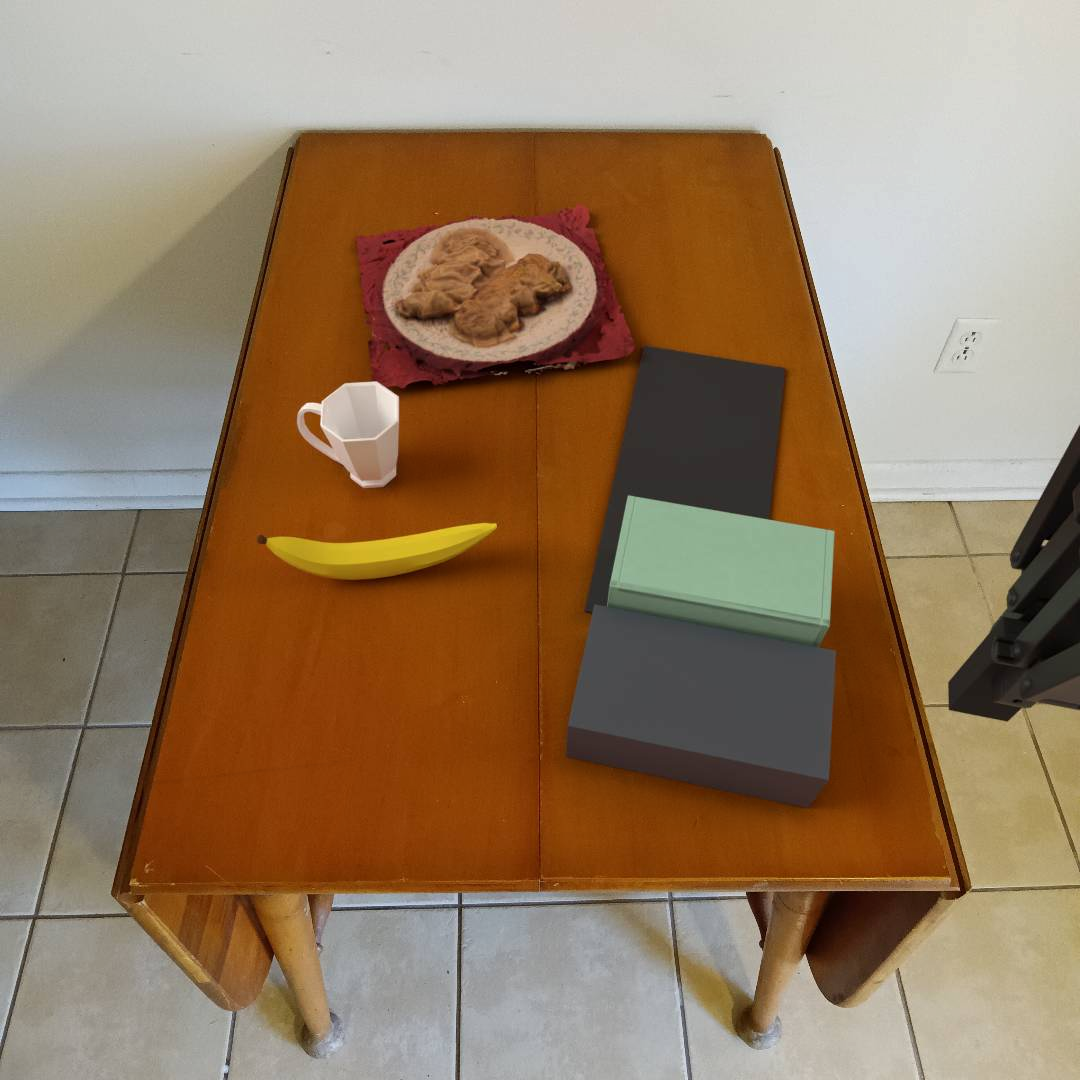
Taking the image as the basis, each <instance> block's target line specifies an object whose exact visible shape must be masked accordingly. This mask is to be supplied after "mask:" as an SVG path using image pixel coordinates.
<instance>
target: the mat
mask: <svg viewBox="0 0 1080 1080" xmlns="http://www.w3.org/2000/svg"><path fill="white" fill-rule="evenodd" d="M785 375H786V367H784V366H783V367H782V366H775V365H770V364H763V363H756V362H750V361H746V360H745V361H744V360H738V359H732V358H726V357H719V356H712V355H707V354H706V355H705V354H700V353H694V352H688V351H683V350H682V351H681V350H675V349H670V348H669V349H668V348H664V347H663V348H662V347H657V346H649V345H643V347H642V352H641V357H640V361H639V366H638V370H637V375H636V379H635V384H634V389H633V392H632V398H631V402H630V407H629V411H628V414H627V420H626V423H625V427H624V432H623V433H624V434H623V437H622V438H623V439H622V442H621V447H620V450H619V455H618V460H617V465H616V468H615V473H614V477H613V483H612V487H611V490H610V495H609V500H608V504H607V509H606V513H605V519H604V522H603V526H602V531H601V536H600V539H599V544H598V549H597V554H596V556H595V557H596V558H595V562H594V566H593V572H592V576H591V580H590V585H589V589H588V594H587V597H586V602H585V607H584V613H587V614H592V613H593V608H594V605H595V604H596V605H601V606H606V607H607V603H608V595H609V587H610V582H611V577H612V572H613V567H614V562H615V557H616V552H617V547H618V542H619V537H620V532H621V527H622V522H623V518H624V513H625V508H626V503H627V498H628V495H629V496H635V497H640V498H646V499H652V500H658V501H663V502H669V503H675V504H681V505H687V506H692V507H698V508H704V509H710V510H716V511H721V512H727V513H733V514H739V515H744V516H750V517H756V518H762V519H768V520H770V514H771V506H772V496H773V487H774V479H775V469H776V468H775V467H776V460H777V450H778V440H779V431H780V422H781V413H782V403H783V394H784V385H785V384H784V383H785Z"/></svg>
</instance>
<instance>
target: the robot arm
mask: <svg viewBox="0 0 1080 1080" xmlns="http://www.w3.org/2000/svg"><path fill="white" fill-rule="evenodd" d="M1045 541H1047V542H1046V544H1045V545H1043V544H1044V542H1045ZM1009 562H1010V567H1011V569H1013V570H1019V571H1021V573H1020V575H1019V576H1018V578H1017V579H1016V581H1014V583H1013V584H1012V585H1011V587H1010V588H1009V589H1008V591H1007V594H1006V609H1005V610H1004V611H1003V612H1002V614H1001V615H1000V616H999V617H998V619H997V620H996V621H995V622H994V623H993V624H992V626H991V628H990V630H989V633H987V635H986V636H985V637H984V638H983V640H982V641H981V642H980V643H979V644H978V646H977V647H976V648H975V649H974V651H973V652H972V653H971V655H970V656H968V658H967V659H966V660H965V662H964V663H963V664H962V665H961V666H960V667H959V669H957V671H956V672H955V673H954V674H953V676H952V677H951V678H949V680H948V682H947V686H948V687H947V690H948V692H947V694H948V701H947V702H948V711H950V712H956V713H961V714H966V715H971V716H977V717H982V718H985V719H991V720H997V721H1002V722H1005V723H1006V722H1009V721H1010V720H1011V719H1012V718H1013V717H1014V716H1015V715H1017V714H1018V713H1019V711H1021V710H1022V709H1031V708H1033V706H1035V705H1036V704H1037V703H1039V704H1045V705H1048V706H1054V707H1058V708H1059V707H1060V708H1065V709H1070V710H1074V711H1075V710H1076V711H1080V424H1079V425H1078V427H1077V428H1076V431H1075V432H1074V434H1073V436H1072V438H1071V440H1070V442H1069V443H1068V445H1067V447H1066V448H1065V451H1064V453H1063V455H1062V457H1061V458H1060V460H1059V462H1058V464H1057V466H1056V468H1055V469H1054V471H1053V473H1052V475H1051V477H1050V479H1049V481H1048V482H1047V484H1046V485H1045V488H1044V490H1043V492H1042V493H1041V495H1040V497H1039V499H1038V501H1037V503H1036V505H1035V506H1034V508H1033V510H1032V511H1031V513H1030V516H1029V518H1028V519H1027V521H1026V523H1025V525H1024V527H1023V528H1022V530H1021V533H1020V534H1019V536H1018V538H1017V539H1016V541H1015V543H1014V545H1013V547H1012V549H1011V551H1010V554H1009Z"/></svg>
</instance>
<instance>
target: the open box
mask: <svg viewBox="0 0 1080 1080" xmlns="http://www.w3.org/2000/svg"><path fill="white" fill-rule="evenodd" d="M835 534H836V533H835V530H831V529H826V528H825V529H824V528H819V527H813V526H807V525H802V524H796V523H791V522H785V521H778V520H774V519H773V520H772V519H769V520H768V519H762V518H756V517H750V516H744V515H739V514H733V513H727V512H721V511H716V510H710V509H704V508H698V507H692V506H687V505H681V504H675V503H669V502H663V501H658V500H652V499H646V498H640V497H635V496H629V495H628V498H627V503H626V508H625V513H624V518H623V522H622V527H621V532H620V537H619V542H618V547H617V552H616V557H615V562H614V567H613V572H612V577H611V582H610V587H609V595H608V603H607V607H611V608H616V609H622V610H627V611H632V612H637V613H642V614H648V615H653V616H658V617H663V618H668V619H674V620H679V621H684V622H689V623H694V624H700V625H705V626H710V627H715V628H720V629H726V630H731V631H736V632H741V633H746V634H752V635H757V636H762V637H767V638H772V639H777V640H783V641H788V642H793V643H798V644H803V645H809V646H814V647H819V648H820V646H821V644H822V641H823V640H824V637H825V636H826V634H827V632H828V631H829V629H830V627H831V606H832V590H833V589H832V588H833V570H834V569H833V567H834V550H835Z"/></svg>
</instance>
